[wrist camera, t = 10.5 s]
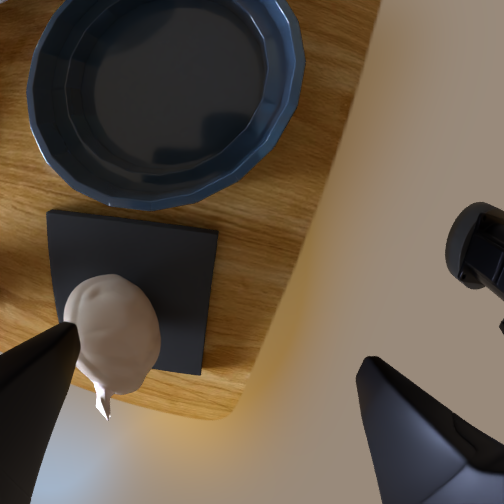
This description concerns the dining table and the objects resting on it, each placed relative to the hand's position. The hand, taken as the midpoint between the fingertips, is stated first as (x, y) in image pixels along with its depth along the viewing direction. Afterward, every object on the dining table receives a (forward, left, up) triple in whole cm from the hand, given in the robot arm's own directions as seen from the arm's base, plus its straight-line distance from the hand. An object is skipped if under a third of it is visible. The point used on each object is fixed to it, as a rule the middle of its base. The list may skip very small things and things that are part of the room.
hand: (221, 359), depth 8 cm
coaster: (+6, +6, -12) cm, 15 cm away
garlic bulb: (+6, +6, -11) cm, 14 cm away
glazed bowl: (+5, -9, -12) cm, 15 cm away
